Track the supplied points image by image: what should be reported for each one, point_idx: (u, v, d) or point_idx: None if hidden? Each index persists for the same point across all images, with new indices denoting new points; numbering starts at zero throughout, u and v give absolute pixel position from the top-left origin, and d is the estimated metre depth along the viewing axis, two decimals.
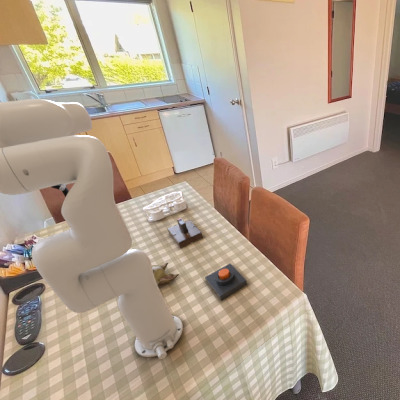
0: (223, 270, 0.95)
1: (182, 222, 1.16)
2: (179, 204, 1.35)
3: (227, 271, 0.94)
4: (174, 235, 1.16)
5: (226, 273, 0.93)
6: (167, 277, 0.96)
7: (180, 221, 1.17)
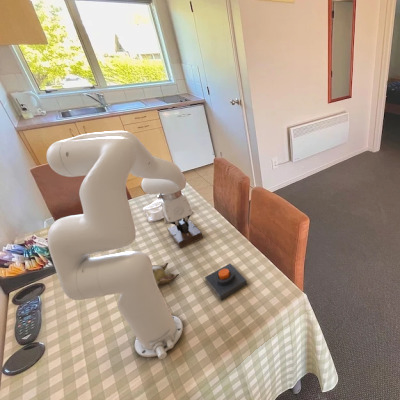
0: (223, 270, 0.95)
1: (182, 222, 1.16)
2: None
3: (227, 271, 0.94)
4: (174, 235, 1.16)
5: (226, 273, 0.93)
6: (167, 277, 0.96)
7: (180, 221, 1.17)
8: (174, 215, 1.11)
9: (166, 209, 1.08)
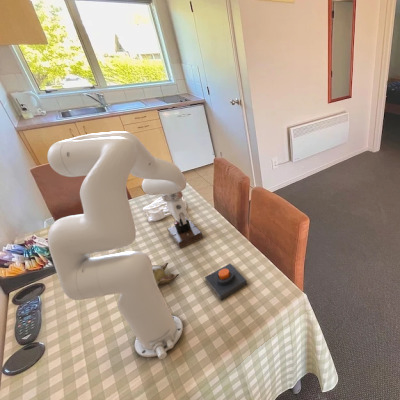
0: (223, 270, 0.95)
1: None
2: None
3: (227, 271, 0.94)
4: (174, 235, 1.16)
5: (226, 273, 0.93)
6: (167, 277, 0.96)
7: (181, 221, 1.17)
8: None
9: (184, 205, 1.11)
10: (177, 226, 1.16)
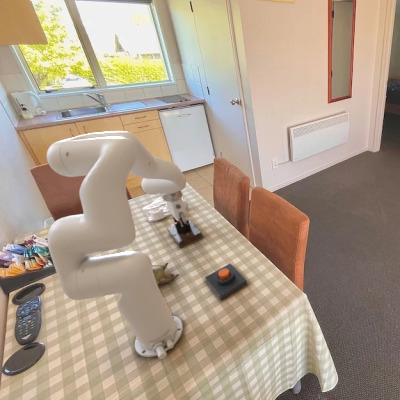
0: (223, 270, 0.95)
1: None
2: None
3: (227, 271, 0.94)
4: (174, 235, 1.16)
5: (226, 273, 0.93)
6: (167, 277, 0.96)
7: (181, 221, 1.17)
8: None
9: (184, 205, 1.11)
10: (177, 226, 1.16)
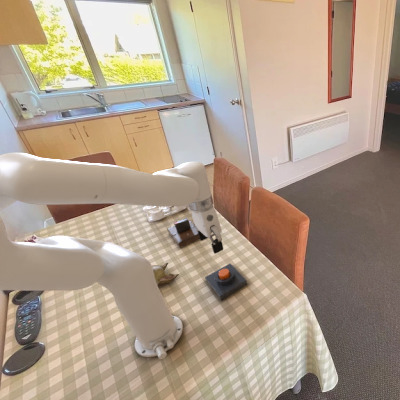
0: (223, 270, 0.95)
1: (184, 219, 1.18)
2: None
3: (227, 271, 0.94)
4: (174, 235, 1.16)
5: (226, 273, 0.93)
6: (167, 277, 0.96)
7: (181, 221, 1.17)
8: None
9: None
10: (177, 226, 1.16)
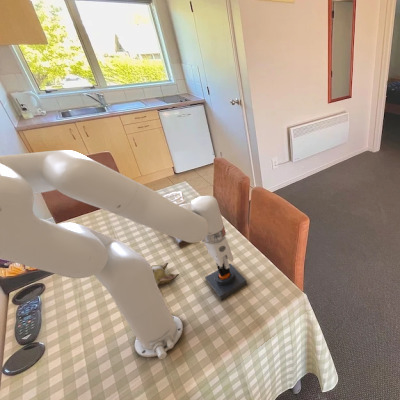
0: None
1: None
2: (179, 204, 1.35)
3: None
4: None
5: (226, 274, 0.94)
6: (167, 277, 0.96)
7: None
8: None
9: None
10: None
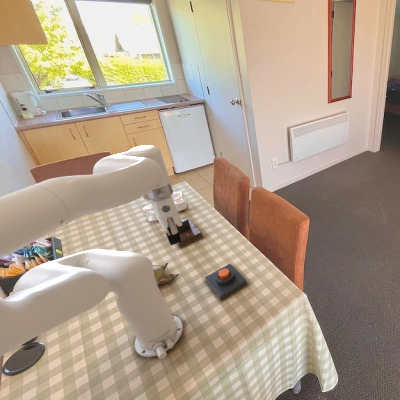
0: (223, 270, 0.95)
1: (184, 219, 1.18)
2: (179, 204, 1.35)
3: (227, 271, 0.94)
4: None
5: (226, 273, 0.93)
6: (167, 277, 0.96)
7: (181, 221, 1.17)
8: None
9: (175, 206, 0.75)
10: (177, 226, 1.16)
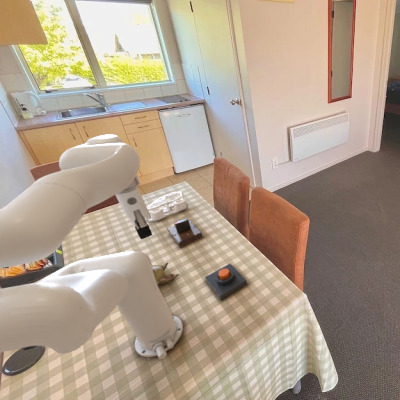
0: (223, 270, 0.95)
1: (184, 219, 1.18)
2: (179, 204, 1.35)
3: (227, 271, 0.94)
4: (174, 235, 1.16)
5: (226, 273, 0.93)
6: (167, 277, 0.96)
7: (181, 221, 1.17)
8: None
9: (142, 199, 0.72)
10: (177, 226, 1.16)
